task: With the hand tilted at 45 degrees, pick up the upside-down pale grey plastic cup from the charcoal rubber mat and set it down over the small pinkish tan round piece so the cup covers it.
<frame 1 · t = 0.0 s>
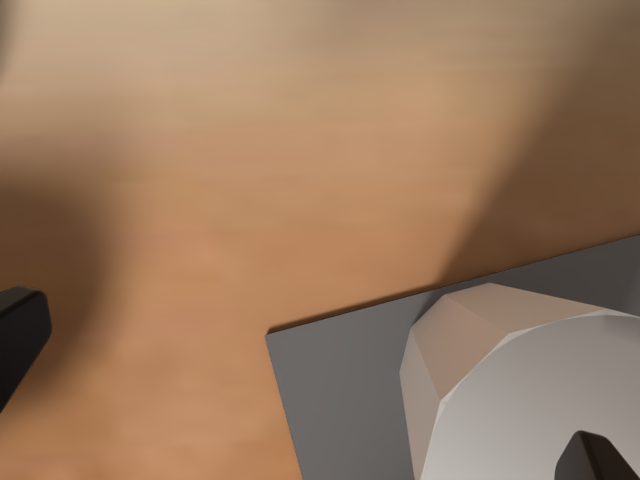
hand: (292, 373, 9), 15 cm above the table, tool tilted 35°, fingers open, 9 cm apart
cover cup: (491, 373, 23), resting on mat
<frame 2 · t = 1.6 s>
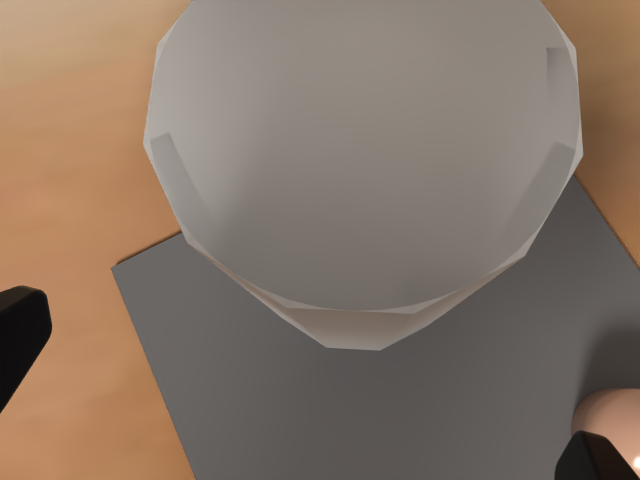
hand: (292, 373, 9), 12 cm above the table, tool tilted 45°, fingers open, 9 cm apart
pinkish tan round piece: (618, 435, 19), resting on mat
mat: (433, 395, 20), on the table
cover cup: (357, 252, 21), resting on mat
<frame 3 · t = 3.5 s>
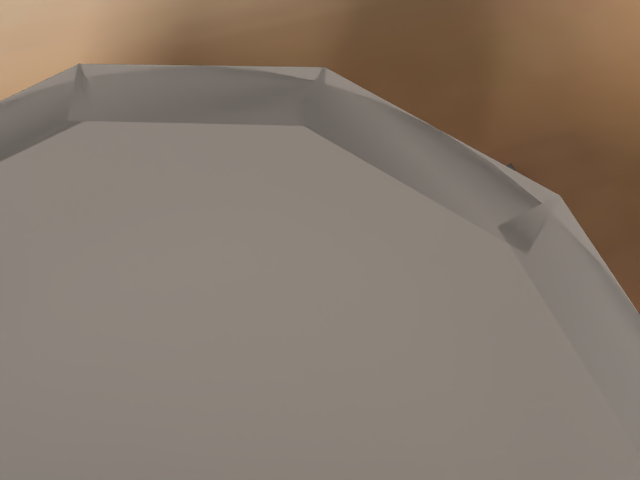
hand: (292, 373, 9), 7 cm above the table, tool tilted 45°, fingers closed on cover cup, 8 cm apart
cover cup: (306, 424, 15), resting on mat, touching gripper
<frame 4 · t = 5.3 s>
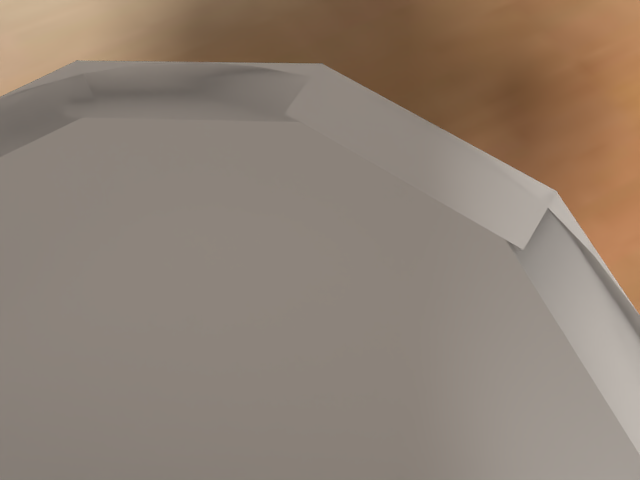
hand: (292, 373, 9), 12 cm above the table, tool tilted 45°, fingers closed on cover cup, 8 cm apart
cover cup: (306, 423, 15), point 6 cm above the table, touching gripper
when the fingers open (8 cm above the table, at t = 7.4 s): cover cup drops 1 cm, resting on mat.
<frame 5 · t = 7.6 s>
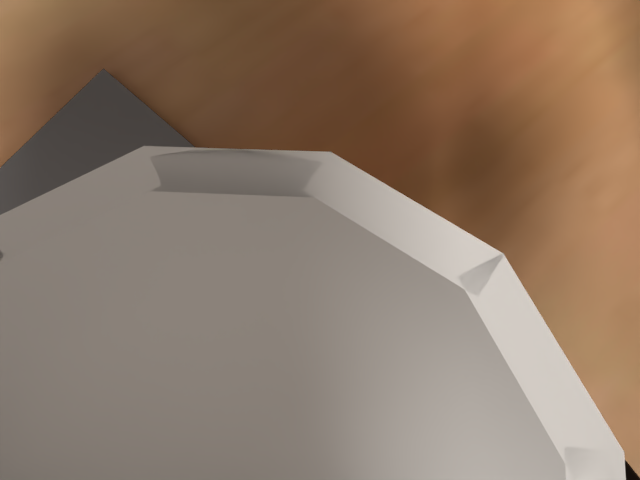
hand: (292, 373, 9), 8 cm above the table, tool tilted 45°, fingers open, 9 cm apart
mat: (111, 452, 17), on the table
cover cup: (310, 420, 16), resting on mat
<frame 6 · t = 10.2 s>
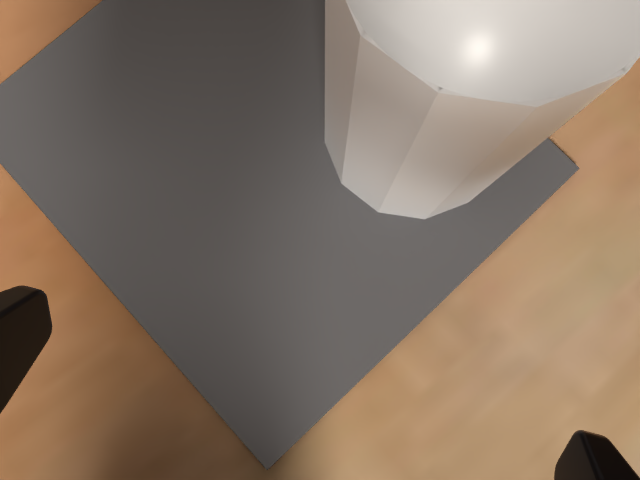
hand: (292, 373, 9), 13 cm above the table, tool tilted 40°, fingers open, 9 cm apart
mat: (267, 144, 23), on the table
cover cup: (412, 132, 23), resting on mat
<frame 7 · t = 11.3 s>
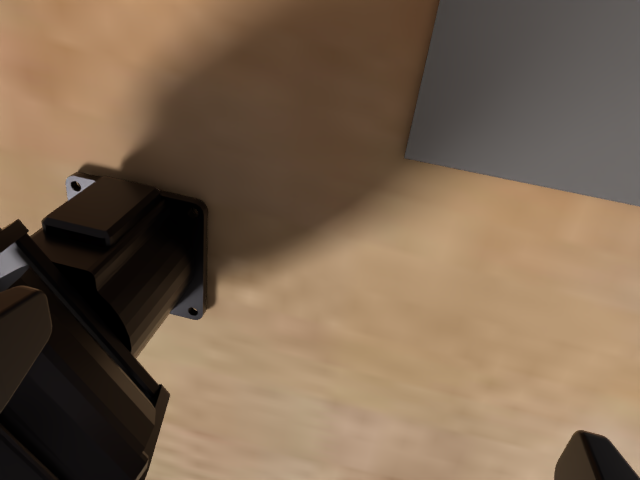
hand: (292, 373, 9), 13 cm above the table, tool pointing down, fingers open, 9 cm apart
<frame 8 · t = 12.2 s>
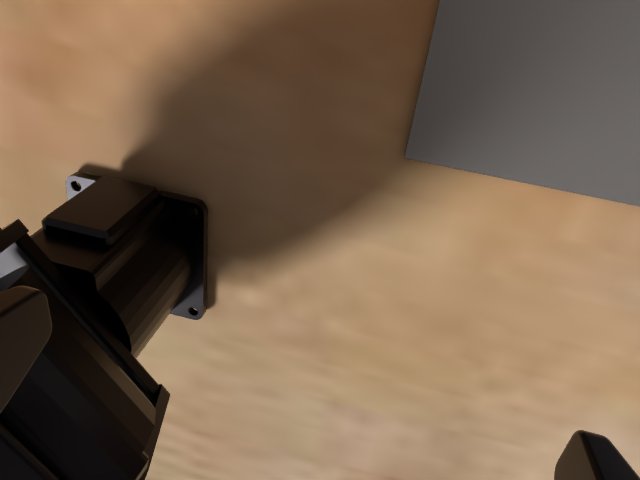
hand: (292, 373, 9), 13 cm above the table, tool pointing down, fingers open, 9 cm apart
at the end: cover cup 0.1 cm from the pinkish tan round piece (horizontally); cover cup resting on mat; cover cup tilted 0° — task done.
